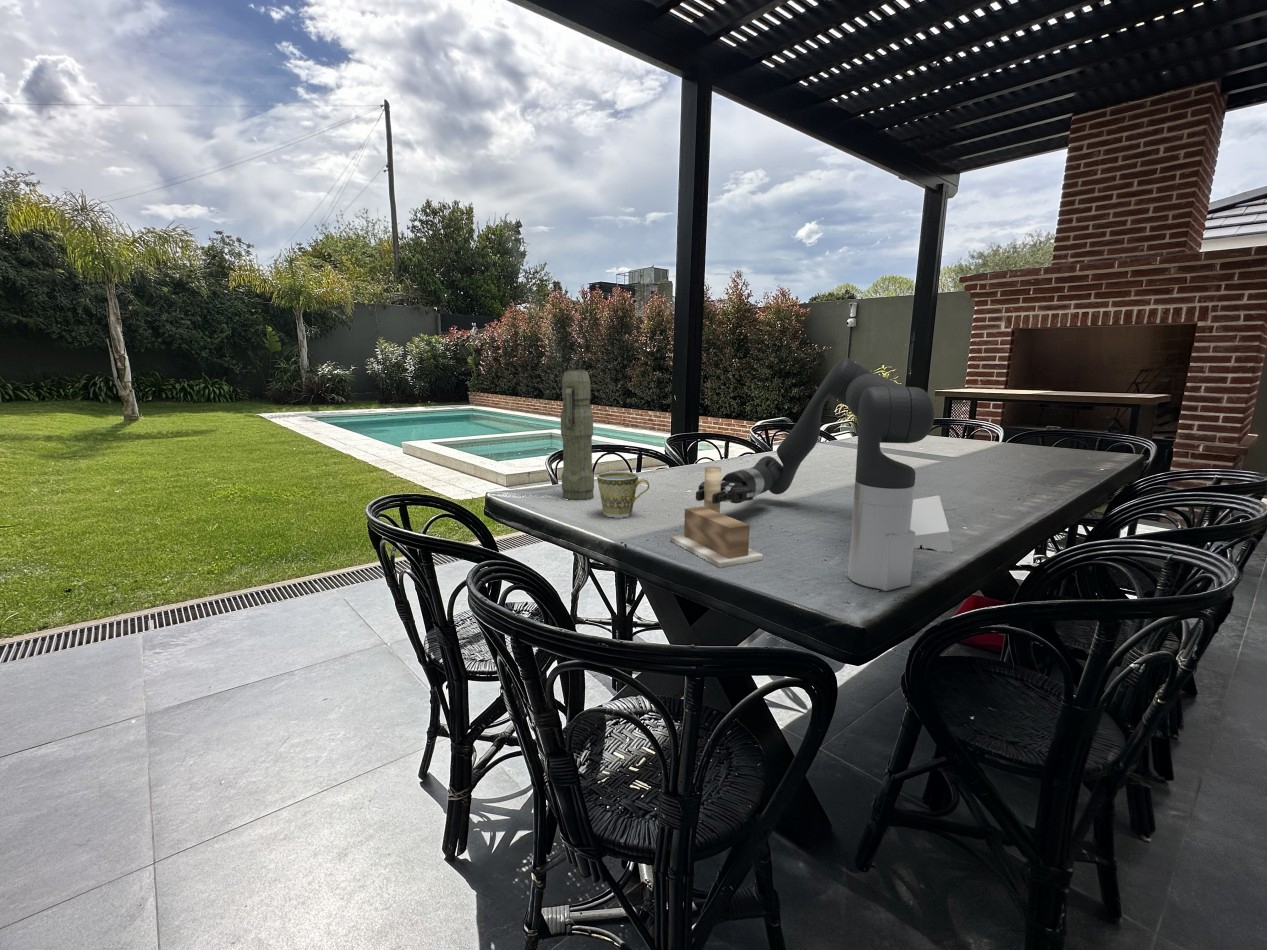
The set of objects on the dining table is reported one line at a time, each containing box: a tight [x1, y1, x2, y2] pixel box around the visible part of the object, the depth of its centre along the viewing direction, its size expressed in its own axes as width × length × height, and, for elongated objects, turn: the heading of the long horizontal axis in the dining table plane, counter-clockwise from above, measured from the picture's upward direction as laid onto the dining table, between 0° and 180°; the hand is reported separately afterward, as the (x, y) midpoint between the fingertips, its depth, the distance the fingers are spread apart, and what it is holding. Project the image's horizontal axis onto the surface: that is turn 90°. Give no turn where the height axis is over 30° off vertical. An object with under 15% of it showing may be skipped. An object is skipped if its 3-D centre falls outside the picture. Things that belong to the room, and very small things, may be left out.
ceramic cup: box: [596, 471, 650, 519], centre depth 142 cm, size 13×10×10 cm
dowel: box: [703, 466, 722, 513], centre depth 131 cm, size 4×4×14 cm
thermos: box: [560, 369, 595, 501], centre depth 158 cm, size 9×12×35 cm
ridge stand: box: [670, 505, 764, 568], centre depth 116 cm, size 18×10×7 cm, turn 26°
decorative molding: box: [910, 495, 954, 552], centre depth 133 cm, size 34×5×10 cm
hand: (705, 497), depth 128 cm, fingers closed on dowel, 3 cm apart
